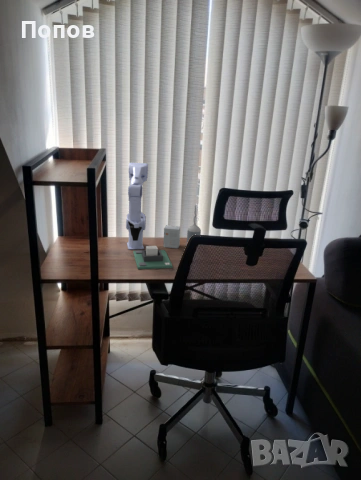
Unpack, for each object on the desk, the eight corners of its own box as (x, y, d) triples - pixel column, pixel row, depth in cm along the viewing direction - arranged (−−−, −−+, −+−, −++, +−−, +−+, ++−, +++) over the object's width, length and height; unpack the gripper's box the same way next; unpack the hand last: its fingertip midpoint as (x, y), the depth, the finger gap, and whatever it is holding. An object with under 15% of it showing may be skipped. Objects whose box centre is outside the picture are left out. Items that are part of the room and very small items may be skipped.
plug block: (145, 256, 190) (146, 245, 188) (156, 256, 191) (156, 245, 189) (146, 259, 186) (147, 249, 184) (157, 259, 187) (158, 248, 185)
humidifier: (185, 249, 205) (189, 202, 197) (201, 250, 204) (205, 204, 196) (183, 254, 198) (186, 206, 189) (199, 256, 197) (203, 208, 188)
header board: (133, 252, 196) (133, 246, 195) (164, 251, 200) (165, 245, 199) (137, 269, 178) (137, 262, 177) (172, 267, 181) (172, 260, 180)
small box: (179, 245, 210) (180, 226, 207) (178, 248, 205) (179, 229, 202) (164, 243, 211) (165, 224, 208) (163, 247, 206) (163, 228, 202)
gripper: (125, 206, 190) (124, 233, 195) (127, 214, 177) (127, 243, 181) (139, 206, 192) (138, 233, 196) (143, 214, 179) (142, 242, 183)
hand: (134, 237), depth 189 cm, fingers open, 7 cm apart
